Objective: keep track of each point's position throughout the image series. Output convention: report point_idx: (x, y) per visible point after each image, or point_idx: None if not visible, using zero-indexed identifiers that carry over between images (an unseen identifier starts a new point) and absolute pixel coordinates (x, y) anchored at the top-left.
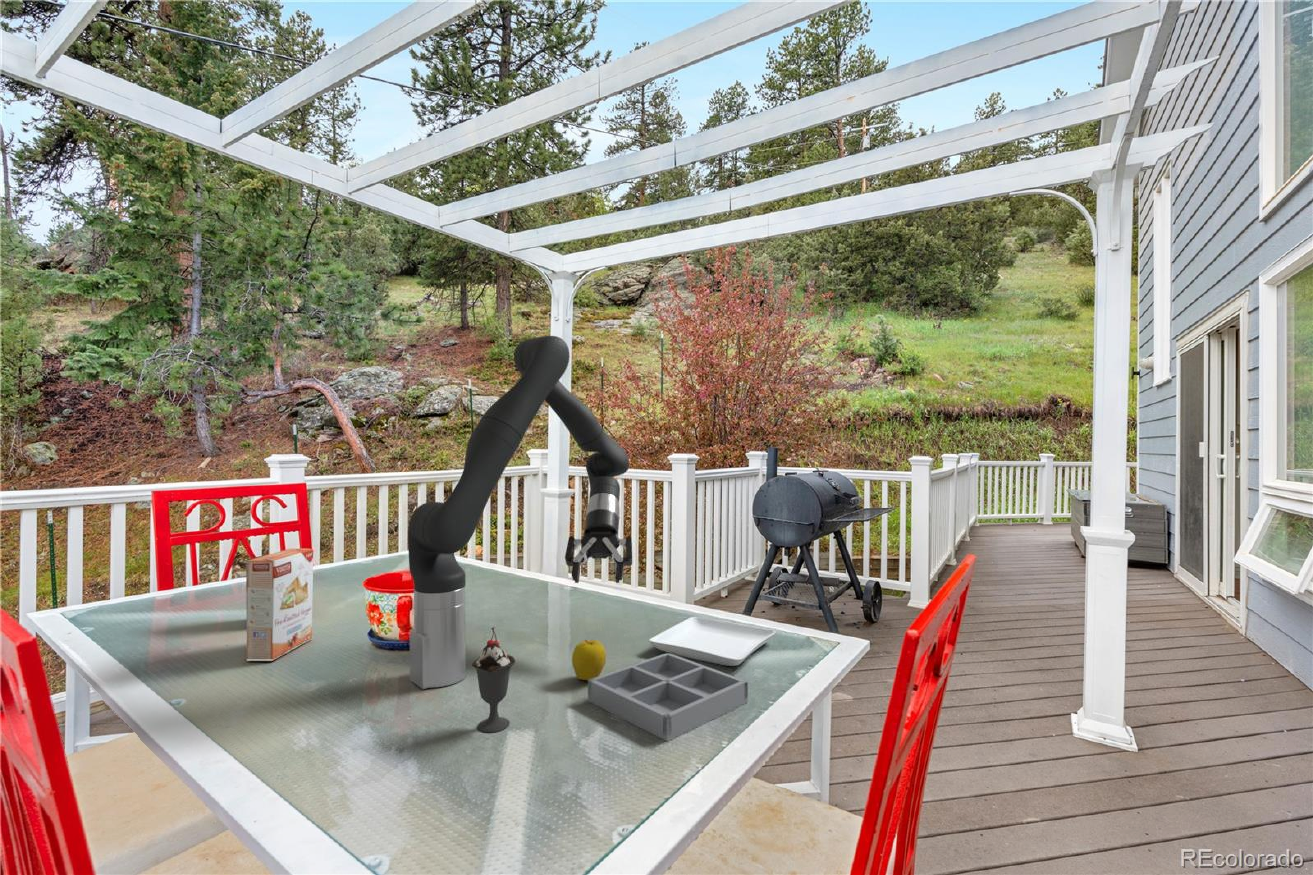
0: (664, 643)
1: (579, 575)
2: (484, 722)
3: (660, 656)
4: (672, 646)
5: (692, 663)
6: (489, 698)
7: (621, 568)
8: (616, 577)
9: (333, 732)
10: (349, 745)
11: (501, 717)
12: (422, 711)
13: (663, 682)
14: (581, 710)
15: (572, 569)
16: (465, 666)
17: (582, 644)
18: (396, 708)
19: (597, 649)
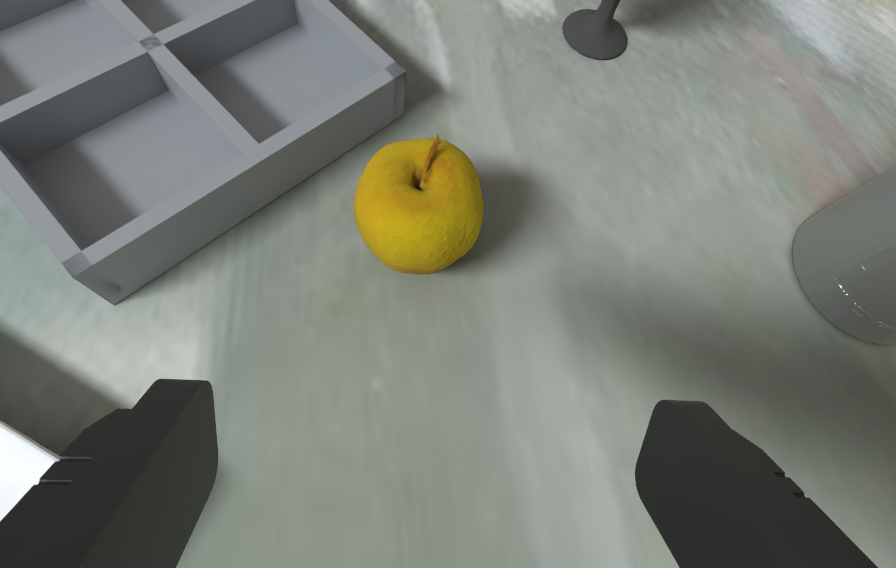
0: (46, 456)
1: (683, 565)
2: (615, 26)
3: (120, 235)
4: (13, 430)
5: (3, 160)
6: None
7: (32, 512)
8: (191, 382)
9: (872, 46)
10: (809, 5)
11: (590, 53)
12: (773, 103)
13: (167, 34)
14: (415, 73)
15: (815, 507)
16: (824, 277)
17: (448, 151)
18: (836, 121)
19: (385, 148)
